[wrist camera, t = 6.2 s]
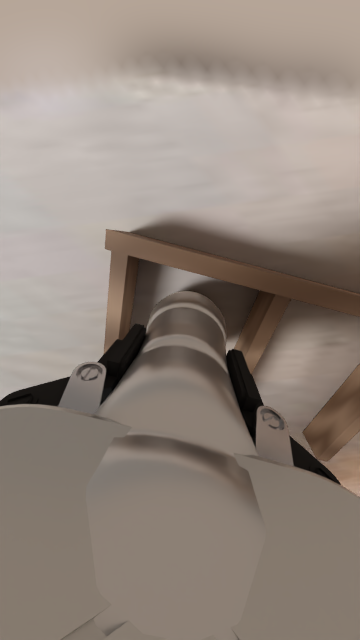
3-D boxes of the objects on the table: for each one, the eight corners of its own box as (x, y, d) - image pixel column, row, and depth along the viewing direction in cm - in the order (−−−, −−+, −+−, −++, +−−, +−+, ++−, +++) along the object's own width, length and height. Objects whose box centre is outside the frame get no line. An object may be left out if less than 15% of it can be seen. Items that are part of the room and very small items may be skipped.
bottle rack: (311, 434, 22) (333, 472, 19) (112, 383, 22) (95, 411, 18) (420, 310, 15) (490, 331, 12) (128, 231, 15) (106, 229, 11)
